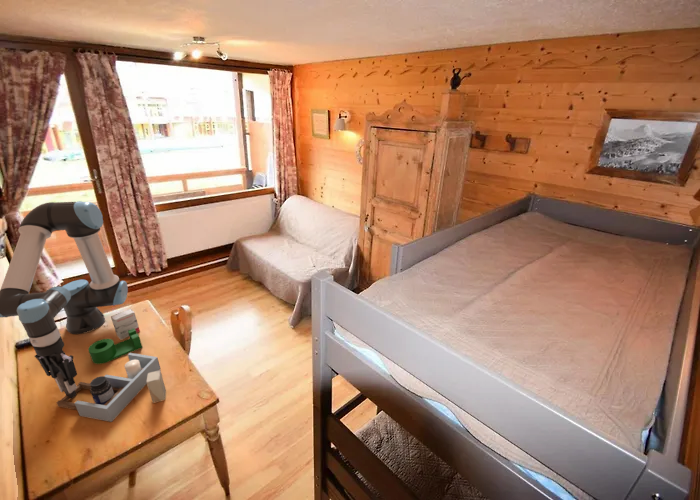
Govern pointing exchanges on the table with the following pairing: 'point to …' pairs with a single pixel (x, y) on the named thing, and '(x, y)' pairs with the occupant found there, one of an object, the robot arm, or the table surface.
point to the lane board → (126, 394)
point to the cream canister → (132, 368)
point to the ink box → (125, 323)
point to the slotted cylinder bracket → (113, 348)
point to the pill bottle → (101, 390)
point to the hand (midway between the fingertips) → (68, 389)
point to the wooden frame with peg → (80, 385)
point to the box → (156, 386)
